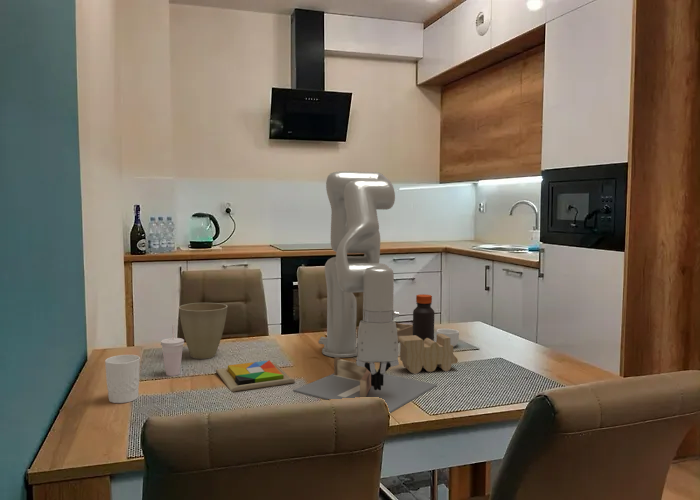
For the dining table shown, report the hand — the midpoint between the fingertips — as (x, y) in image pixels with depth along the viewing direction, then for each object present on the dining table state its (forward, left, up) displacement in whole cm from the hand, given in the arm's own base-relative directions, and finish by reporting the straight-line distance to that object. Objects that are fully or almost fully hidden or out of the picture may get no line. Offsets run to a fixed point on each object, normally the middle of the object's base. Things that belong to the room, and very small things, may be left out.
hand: (377, 388), depth 140 cm
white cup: (-50, -38, -2) cm, 63 cm away
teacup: (-9, +59, -2) cm, 59 cm away
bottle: (-8, +40, -2) cm, 40 cm away
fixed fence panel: (-12, +8, -2) cm, 14 cm away
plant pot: (-65, 0, -2) cm, 65 cm away
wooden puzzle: (-36, -7, -3) cm, 36 cm away
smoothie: (-57, -18, -2) cm, 59 cm away
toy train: (-1, +29, -2) cm, 29 cm away
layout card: (-6, +4, -2) cm, 7 cm away
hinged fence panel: (-3, 0, -1) cm, 4 cm away
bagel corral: (-32, +57, -2) cm, 65 cm away
